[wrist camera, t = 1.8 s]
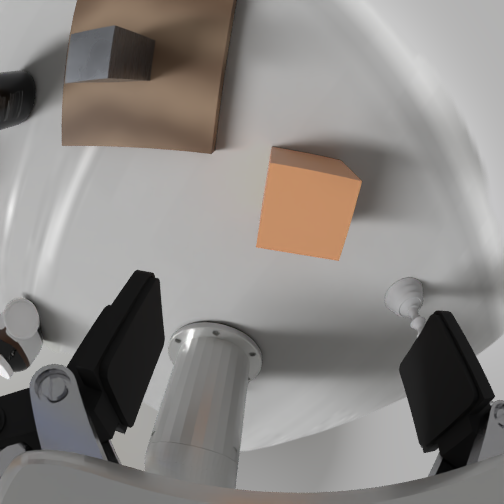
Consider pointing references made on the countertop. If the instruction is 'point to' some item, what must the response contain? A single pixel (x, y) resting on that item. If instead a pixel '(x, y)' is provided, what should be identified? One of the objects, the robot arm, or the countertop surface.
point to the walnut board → (154, 77)
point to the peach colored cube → (307, 204)
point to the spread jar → (19, 336)
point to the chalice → (407, 302)
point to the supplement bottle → (15, 97)
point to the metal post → (109, 56)
